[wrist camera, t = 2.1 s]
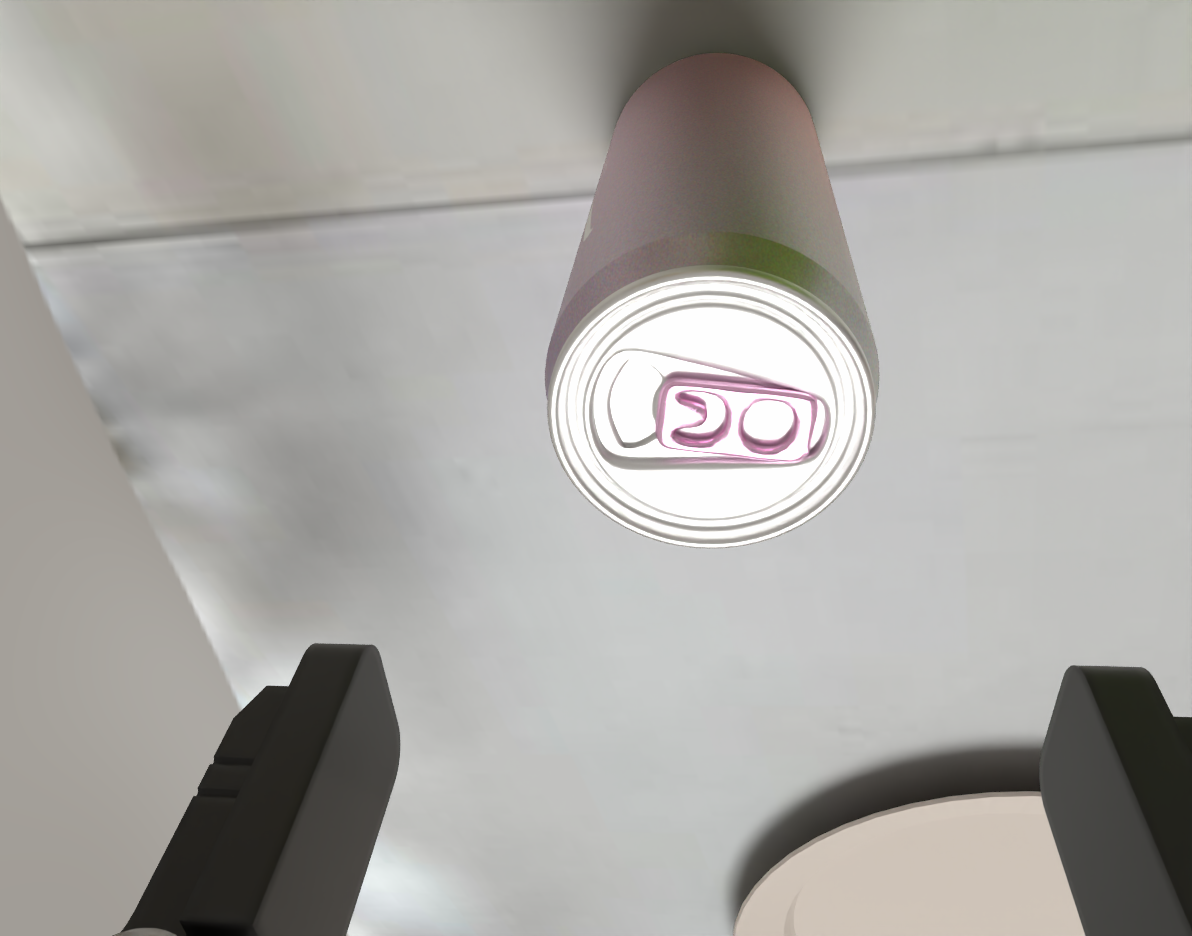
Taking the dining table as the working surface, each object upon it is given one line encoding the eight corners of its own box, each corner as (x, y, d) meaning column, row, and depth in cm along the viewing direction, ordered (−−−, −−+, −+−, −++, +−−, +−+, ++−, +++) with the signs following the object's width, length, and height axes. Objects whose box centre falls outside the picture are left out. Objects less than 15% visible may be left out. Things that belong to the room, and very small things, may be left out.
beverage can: (795, 259, 31) (847, 575, 18) (605, 240, 31) (531, 539, 19) (834, 57, 27) (929, 279, 15) (620, 37, 27) (540, 241, 15)
